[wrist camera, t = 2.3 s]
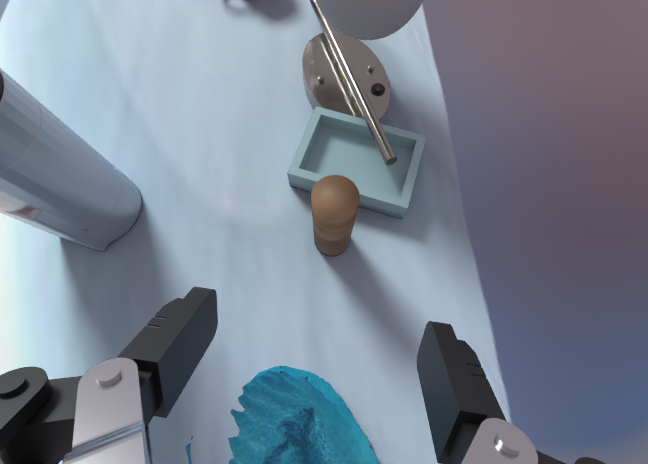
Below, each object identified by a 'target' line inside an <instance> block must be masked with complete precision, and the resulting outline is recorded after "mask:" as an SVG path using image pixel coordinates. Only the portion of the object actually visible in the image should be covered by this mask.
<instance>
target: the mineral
mask: <svg viewBox="0 0 648 464" xmlns="http://www.w3.org/2000/svg"><path fill="white" fill-rule="evenodd" d="M243 392H244V393H243V395H242V396H240V397H239V398H238V400H239V402H240V404H241V405H242V406H243V407H244V409H245V410H244V412H238V411H236V410H233V409H232V410H231V414H232V415H233V416H234V418H235V420H236V423H237V425H238V427H239V430H240V432H239V436H238V437H233V438H228V439H229V443H230V447H231V450H232V452H233V456H234V459H231V460H230V461H229V464H379V463H378V461H377V458H376V455H375V452H374V451H373V450H372V449H371V448H370V447H369V446H370V444H369V440H368V437H367V436H366V435H365V434H364V433H363V432H362V430H361V429H360V427H359V425H358V424H357V422H356V421H355V419H354V417H353V416H352V414H351V411H350V409H349V408H348V407H347V406H346V404H345V402H344V401H343V400H342V398H341V397H340V396H339V395H338V394H337V393H336V392H335V391H334V390H333V388H332V386H331V385H330V384H329V383H328V382H325V380H324V379H323V378H321V379H320V378H319V376H317V375H315V374H313V373H310V372H307V371H304V370H299V369H295V368H290V367H286V366H277V367H273V368H270V369H268V370H265V371H262V372H260V373H258V374H257V375H256V376H255V377H254V378H253V380H251V381H250V382H249V383H247V384H246V385H245V386H244V387H243ZM192 438H193V437H192ZM192 438H191V440H192ZM186 449H187V453H188V457H189V462H190V464H191V457H190V444H189V445H187V446H186Z"/></svg>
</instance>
